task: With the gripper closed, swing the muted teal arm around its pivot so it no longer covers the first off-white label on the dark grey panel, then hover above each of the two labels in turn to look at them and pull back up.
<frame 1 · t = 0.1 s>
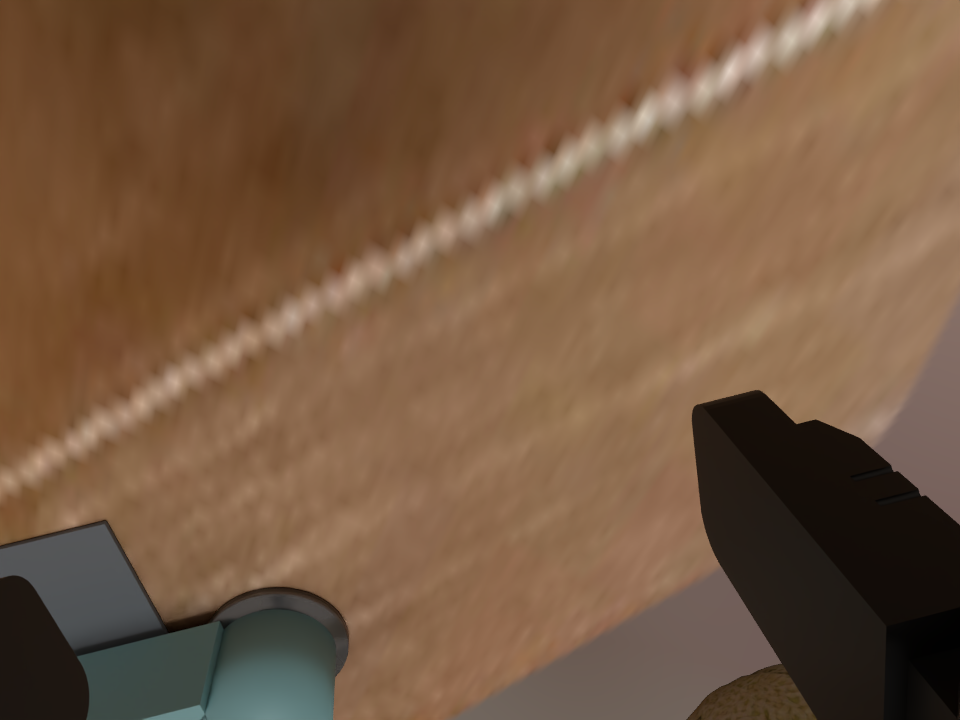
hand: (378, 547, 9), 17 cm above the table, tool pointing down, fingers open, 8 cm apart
cantaloupe: (754, 700, 38), on the table
pivot base: (277, 641, 32), on the table
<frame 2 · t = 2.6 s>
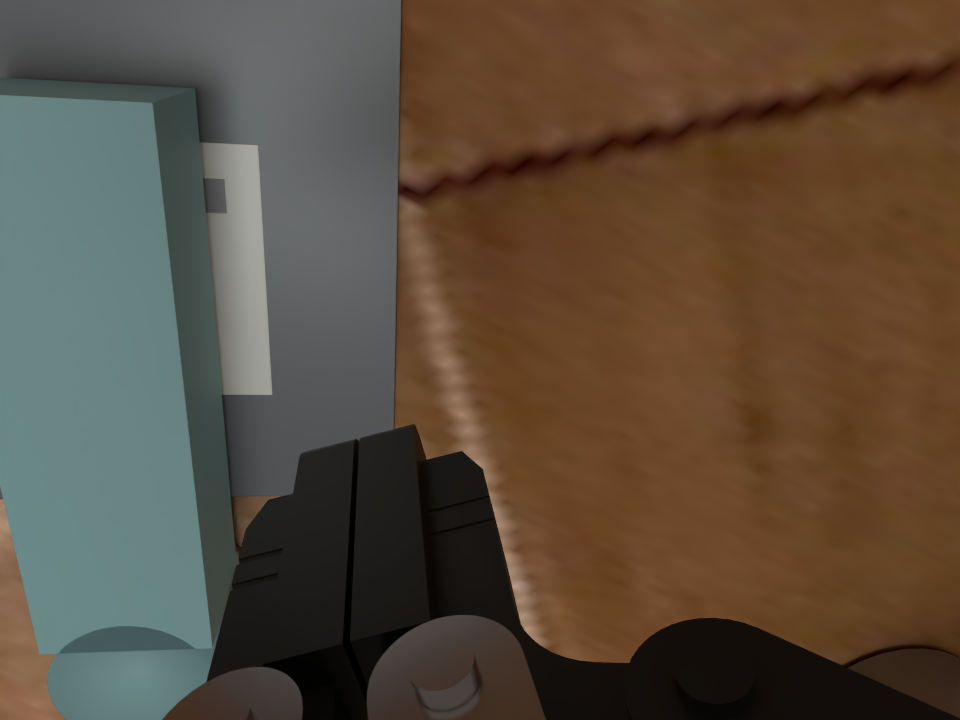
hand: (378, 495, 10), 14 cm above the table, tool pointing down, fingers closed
label panel: (103, 61, 20), on the table
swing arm: (122, 446, 22), point 3 cm above the table, hinge at 0.0°
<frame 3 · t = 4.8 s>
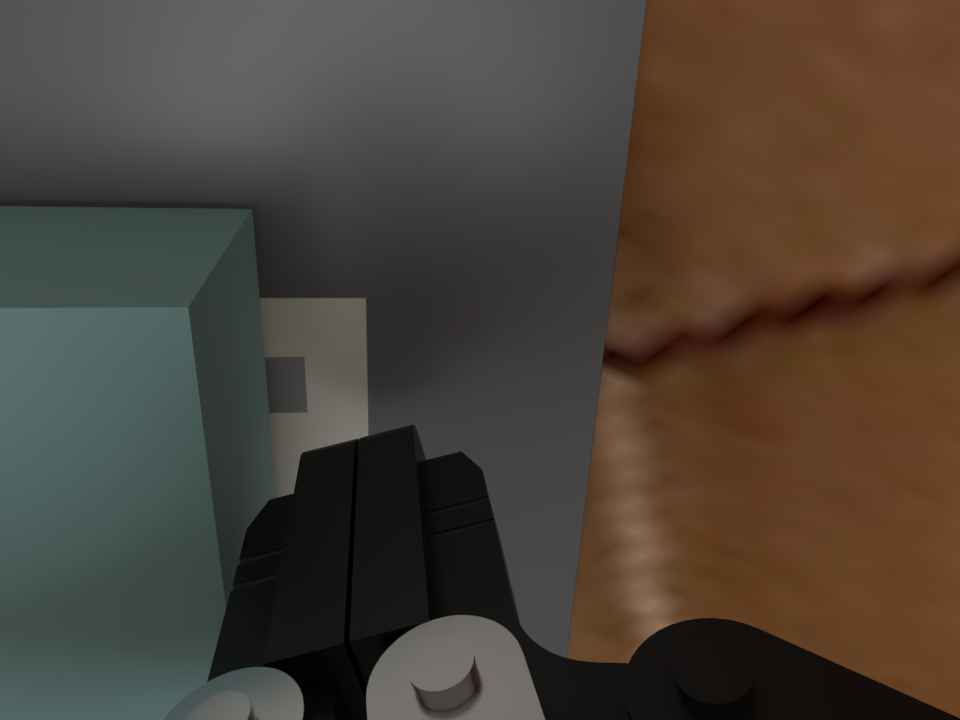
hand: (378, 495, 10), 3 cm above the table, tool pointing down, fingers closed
label panel: (80, 160, 11), on the table
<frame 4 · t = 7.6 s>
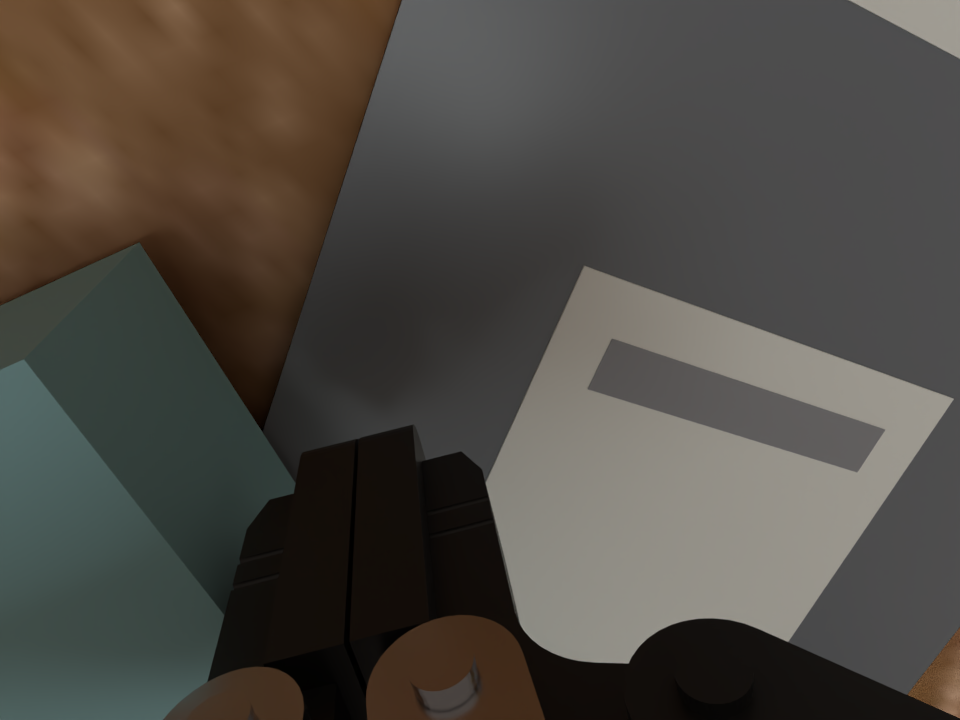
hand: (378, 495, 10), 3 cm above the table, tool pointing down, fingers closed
label panel: (836, 229, 13), on the table
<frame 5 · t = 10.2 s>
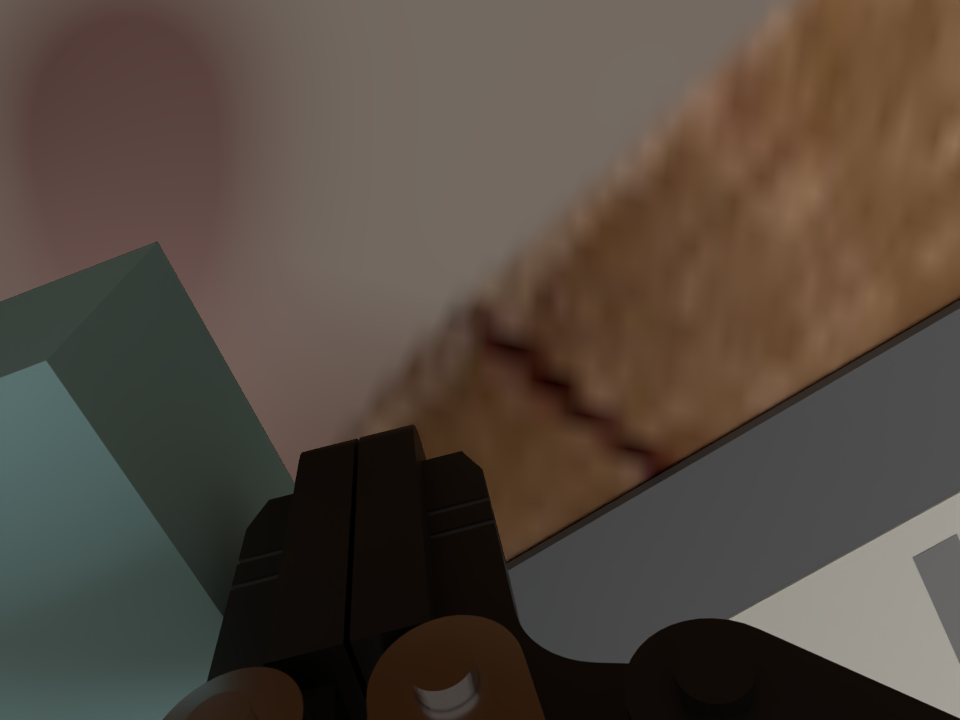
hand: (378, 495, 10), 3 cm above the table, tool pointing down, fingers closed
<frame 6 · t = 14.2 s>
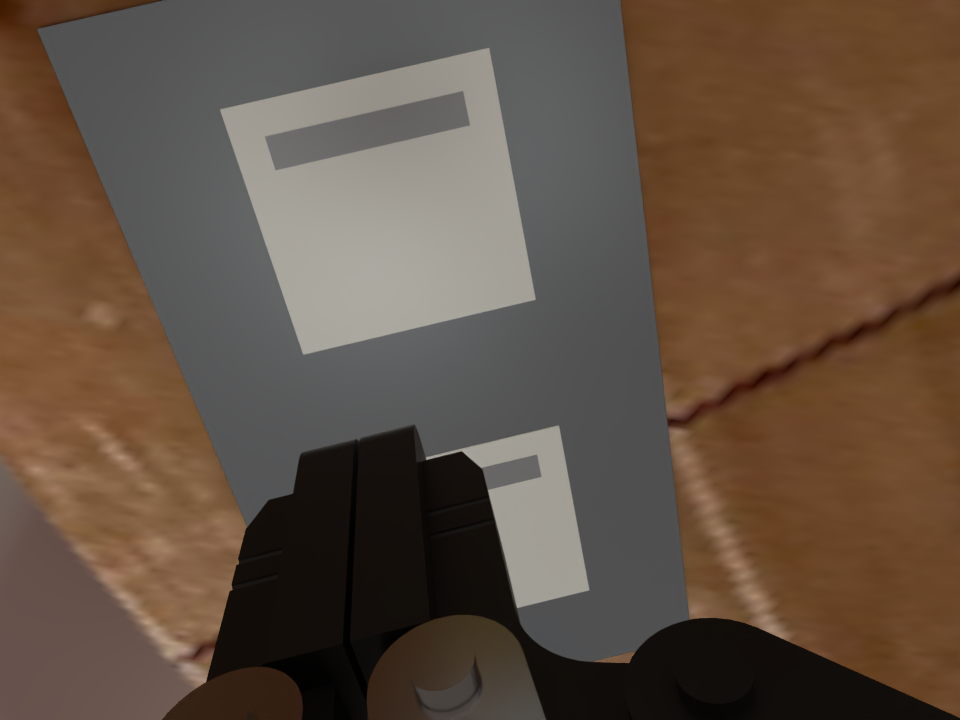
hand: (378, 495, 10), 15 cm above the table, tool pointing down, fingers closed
label panel: (439, 400, 27), on the table
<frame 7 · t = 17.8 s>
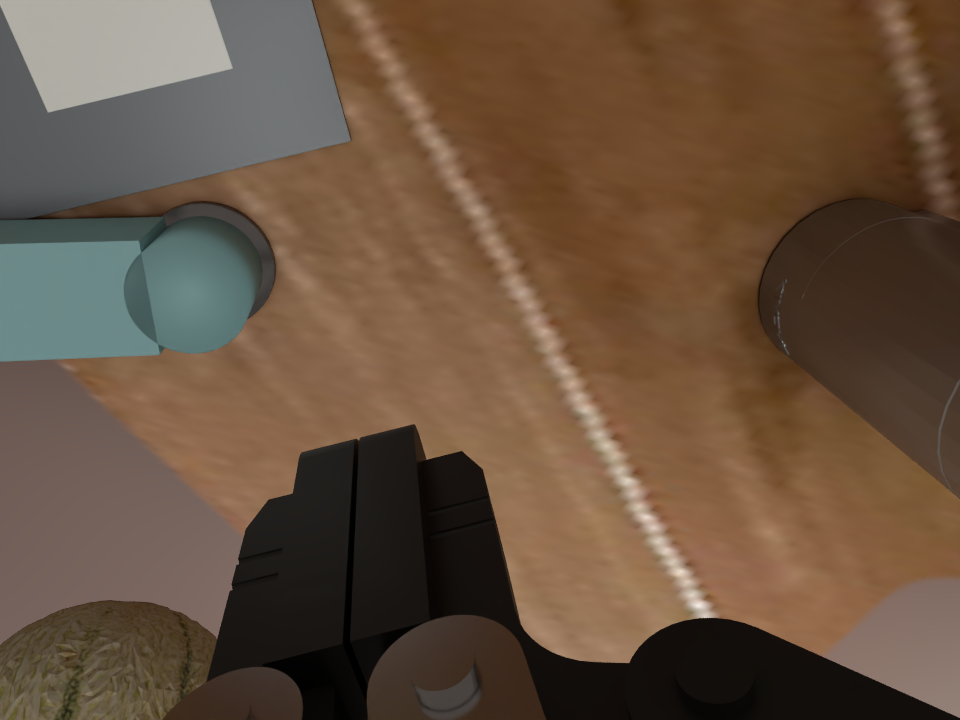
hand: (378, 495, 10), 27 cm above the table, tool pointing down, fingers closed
cantaloupe: (141, 643, 44), on the table
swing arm: (16, 288, 32), point 3 cm above the table, hinge at 77.4°
pivot base: (210, 264, 35), on the table
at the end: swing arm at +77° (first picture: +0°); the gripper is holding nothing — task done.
